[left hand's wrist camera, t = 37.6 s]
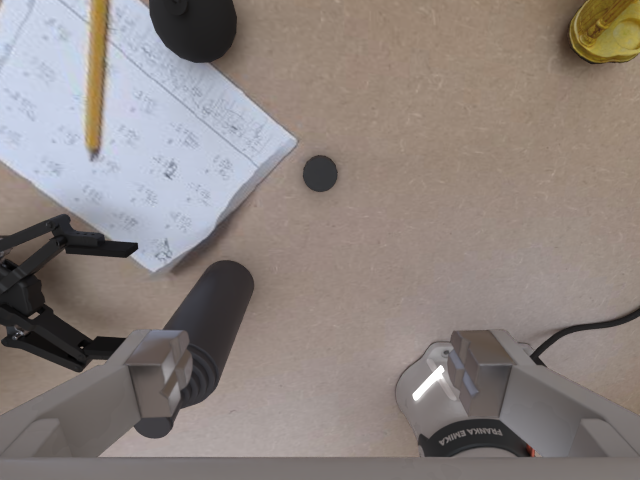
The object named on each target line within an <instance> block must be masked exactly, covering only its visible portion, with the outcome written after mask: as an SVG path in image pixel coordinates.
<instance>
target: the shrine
mask: <svg viewBox="0 0 640 480" xmlns="http://www.w3.org/2000/svg"><path fill="white" fill-rule="evenodd" d="M567 37H568V41H569V45H570V47H571V48H572V50H573V51H574V52H575V53H576V54H578V56H579V57H580V58H582V59H583V60H585V61H587V62H588V63H590V64H602V63H606V62H612V63H616V62H617V63H623V62H628V61H630V60H632V59H633V58H635V57H636V56H637V55H638V54H639V53H640V0H587V1H586V2H585V3H584V4H583V6H582V7H581V8H579V10H578V11H577V12H576V14H575V16H574V17H573V19H572V20H571V21H570V24H569V27H568V32H567Z"/></svg>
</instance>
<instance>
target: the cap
mask: <svg viewBox="0 0 640 480" xmlns="http://www.w3.org/2000/svg"><path fill="white" fill-rule="evenodd" d="M303 170H304V172H303V178H304V181H305V183H306V185H307V186H308V187H309V188H310V189H312V190H314V191H318V192H323V191H327V190H329V189H330V188H331V187H333V185H334V184H335V182H336V180H337V173H338V172H337V170H336V165H335V164H334V162H333V161H332V160H331V159H330V158H328V157H326V156H319V155H318V156H315V157H312V158H311V159H310V160H309V161H307V163H306V165H305V167H304V169H303Z"/></svg>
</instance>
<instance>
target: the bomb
mask: <svg viewBox="0 0 640 480" xmlns="http://www.w3.org/2000/svg"><path fill="white" fill-rule="evenodd" d="M149 7H150V17H151V20H152V23H153V26H154V28H155V31H156V33H157V34H158V36H159V37H160V38H161V40H162V41H163V43H164V44H165V46H166V47H167V48H169V49H170V50H171V51H173V52H174V53H175V54H176V55H178V56H179V57H180V58H183V59H186V60H189V61H192V62H194V63H204V62H212V61H214V60H216V59H218V58H220V57H222V56H223V55H224V54H225V53H226V51H227V50H228V49H229V48H230V47H231V45H232V42H233V40H234V37H235V34H236V23H237V16H236V12H235V9H234V5H233V1H232V0H149Z"/></svg>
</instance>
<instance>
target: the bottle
mask: <svg viewBox="0 0 640 480" xmlns="http://www.w3.org/2000/svg"><path fill="white" fill-rule="evenodd" d="M253 289H254V282H253V278H252V276H251V274H250V272H249V271H248V270H247V269H246V268H245V267H244V266H242V265H241V264H239V263H236V262H233V261H219V262H216V263H213V264H212V265H210V266H209V267H208V268H207V269H206V271H205V272H204V273H203V275H202V276H201V278H200V279H199V280H198V282H197V283H196V284H195V286H194V287H193V288H192V290H191V291H190V293H189V294H188V295H187V297H186V298H185V299H184V301H183V302H182V304H181V305H180V306H179V308H178V309H177V310H176V312H175V313H174V314H173V316H172V317H171V319H170V320H169V321H168V323H167V324H166V325H165V327H164V328H163V330H185V331H186V332H187V333H188V336H189V341H190V342H189V344H188V346H187V348H186V349H187V350H188V351H189V352H190V353H191V354H192V359H193V369H192V374H191V378H190V380H189V383H188V385H187V386H186V387H185V388H184V389H182V390H181V391H180V395H181V399H180V401H179V403H178V405H177V407H176V409H175V411H174V413H173V415H172V417H155V418H141V420H140V421H139V422H138V423H136V424H135V425H134V428H135V429H136V430H137V432H139V433H140V434H141V435H143V436H145V437H148V438H154V439H155V438H161V437H164V436H166V435H167V434H168V433H169V432H170V430H171V429H172V427H173V423H174V421H175V419H176V416H177V414H178V412H179V410H180V409H182V408H185V407H188V406H191V405H195V404H197V403H200V402H202V401H203V400H205V399H206V398H207V397H208V396H209V395H210V394H211V393H212V392H213V391H214V390H215V389H216V387H217V385H218V382H219V380H220V377H221V375H222V372H223V369H224V367H225V364H226V361H227V359H228V356H229V353H230V351H231V348H232V345H233V343H234V340H235V338H236V335H237V332H238V330H239V327H240V324H241V322H242V319H243V316H244V314H245V311H246V308H247V306H248V303H249V301H250V298H251V295H252V293H253Z"/></svg>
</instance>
